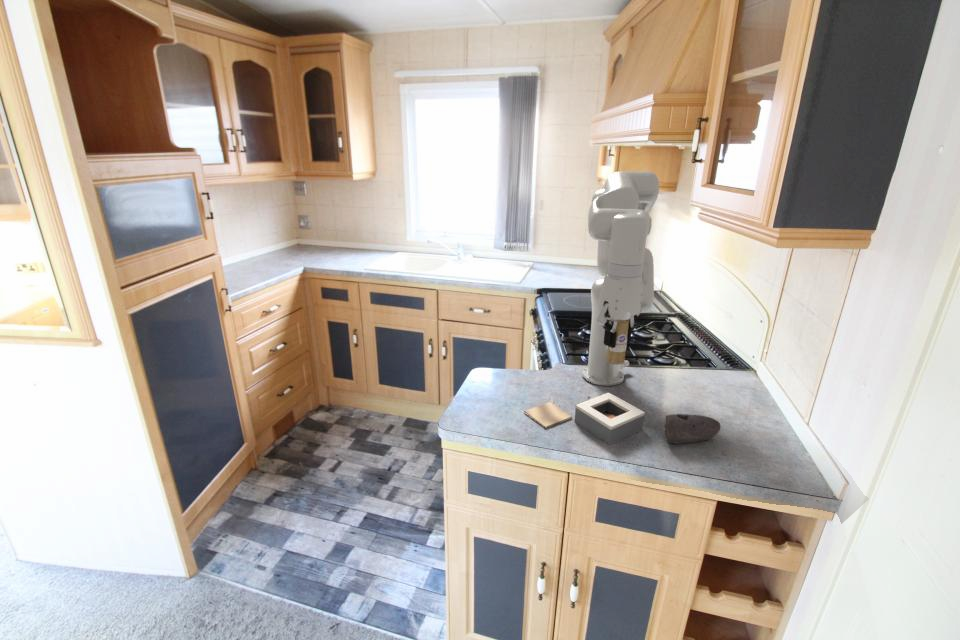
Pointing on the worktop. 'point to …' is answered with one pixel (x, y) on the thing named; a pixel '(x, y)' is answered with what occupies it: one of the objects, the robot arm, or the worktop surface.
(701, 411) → the worktop surface
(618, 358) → the sprinkles bottle
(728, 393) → the worktop surface
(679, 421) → the perforated stone tool
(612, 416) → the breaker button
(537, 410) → the coaster
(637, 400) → the worktop surface
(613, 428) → the grey square open box
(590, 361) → the robot arm
